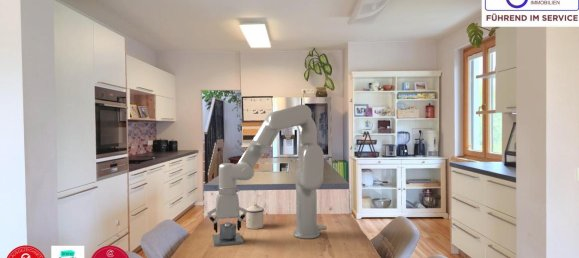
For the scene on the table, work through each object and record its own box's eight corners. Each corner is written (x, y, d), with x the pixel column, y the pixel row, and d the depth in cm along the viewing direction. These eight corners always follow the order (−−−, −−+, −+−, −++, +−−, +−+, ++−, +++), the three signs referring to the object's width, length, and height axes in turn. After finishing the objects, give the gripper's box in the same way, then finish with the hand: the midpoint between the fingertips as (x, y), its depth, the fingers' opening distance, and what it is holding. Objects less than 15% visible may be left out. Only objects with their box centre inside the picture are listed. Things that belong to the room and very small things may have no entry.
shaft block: (239, 235, 152) (239, 218, 152) (243, 243, 140) (243, 225, 140) (212, 237, 148) (212, 220, 148) (214, 246, 137) (214, 227, 137)
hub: (234, 233, 148) (234, 222, 148) (236, 238, 142) (236, 226, 142) (219, 234, 146) (219, 223, 147) (220, 239, 140) (220, 227, 140)
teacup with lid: (264, 224, 170) (264, 201, 170) (263, 229, 161) (263, 205, 161) (240, 224, 170) (240, 201, 170) (239, 229, 161) (239, 205, 161)
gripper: (245, 189, 151) (245, 226, 150) (206, 191, 146) (206, 230, 145) (248, 192, 143) (248, 231, 143) (207, 194, 138) (207, 235, 138)
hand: (227, 230), depth 144 cm, fingers open, 9 cm apart
